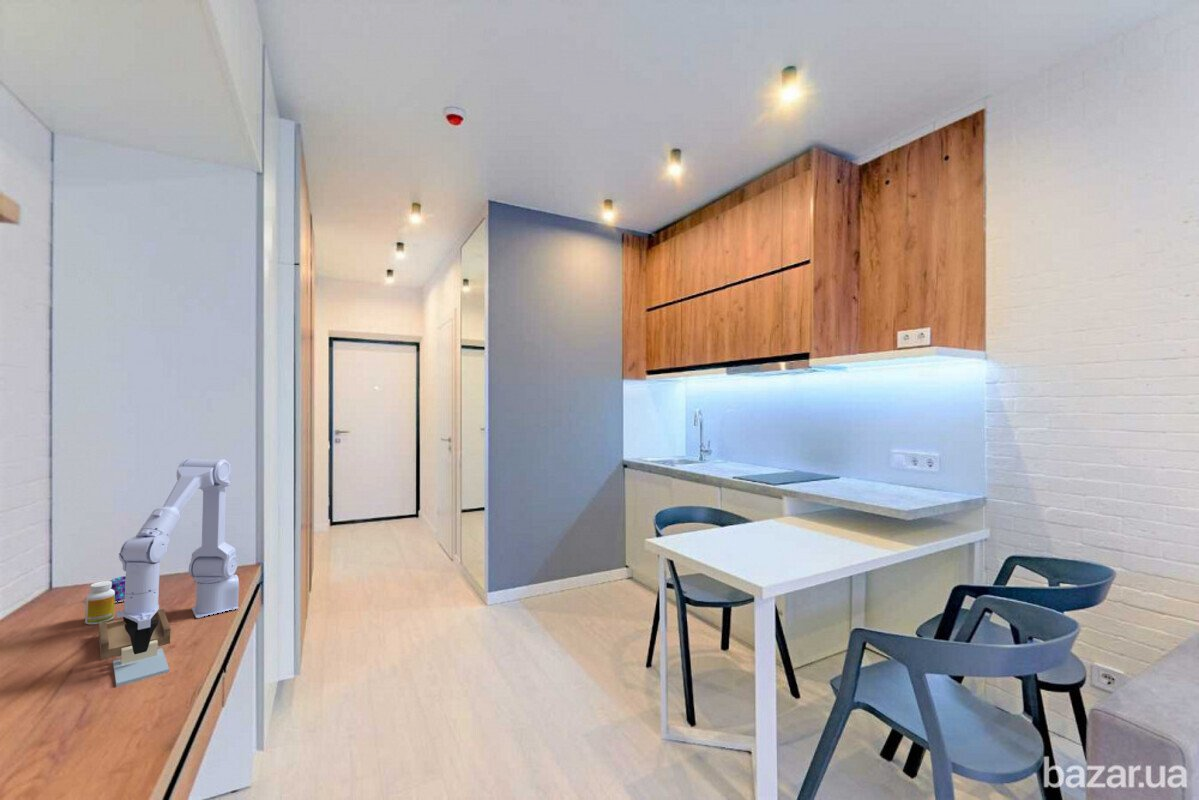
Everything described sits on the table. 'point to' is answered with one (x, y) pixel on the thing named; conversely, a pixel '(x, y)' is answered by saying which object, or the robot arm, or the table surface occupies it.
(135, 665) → the lid
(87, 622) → the supplement bottle
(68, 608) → the table surface
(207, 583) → the robot arm
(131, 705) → the table surface
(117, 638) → the box
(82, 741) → the table surface
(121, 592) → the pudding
